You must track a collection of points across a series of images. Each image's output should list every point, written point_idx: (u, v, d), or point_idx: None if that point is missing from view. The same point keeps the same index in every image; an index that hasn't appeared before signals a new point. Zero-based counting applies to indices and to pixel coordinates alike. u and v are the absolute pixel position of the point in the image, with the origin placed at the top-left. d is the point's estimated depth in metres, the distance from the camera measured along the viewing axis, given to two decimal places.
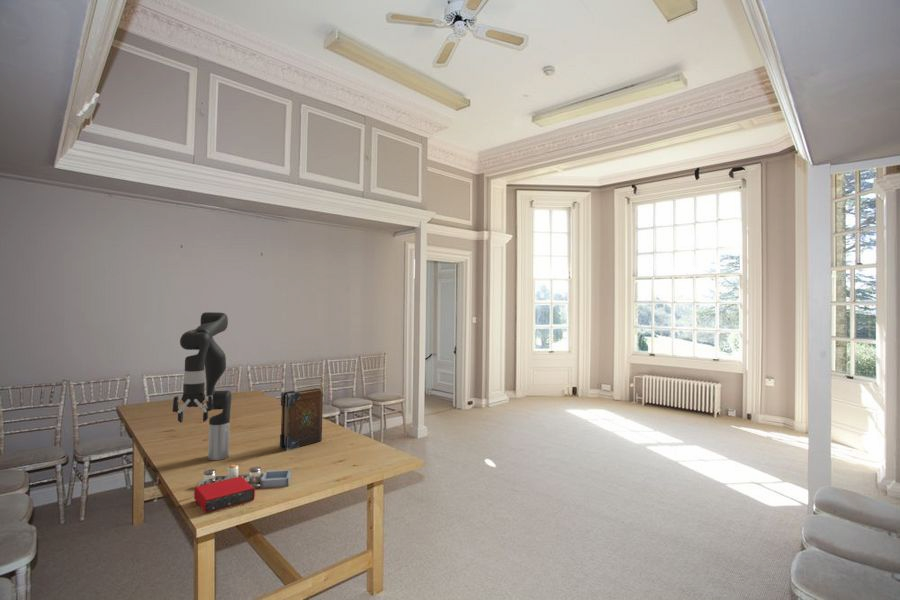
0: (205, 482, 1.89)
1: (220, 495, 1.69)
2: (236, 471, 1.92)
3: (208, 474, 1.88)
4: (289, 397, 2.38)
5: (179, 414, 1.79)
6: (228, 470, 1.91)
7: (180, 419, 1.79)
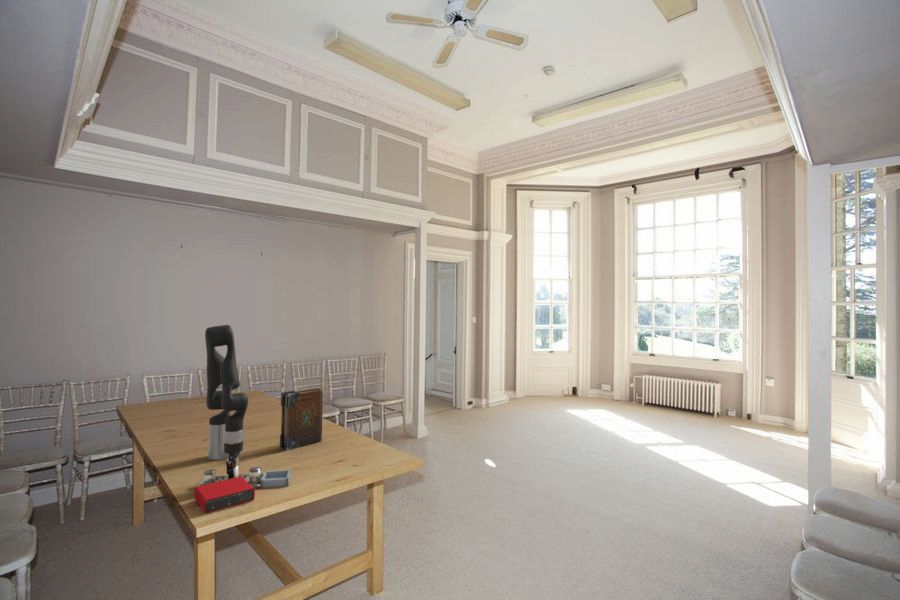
0: (205, 482, 1.89)
1: (220, 495, 1.69)
2: (236, 471, 1.92)
3: (208, 474, 1.88)
4: (289, 397, 2.38)
5: (233, 474, 1.90)
6: None
7: None
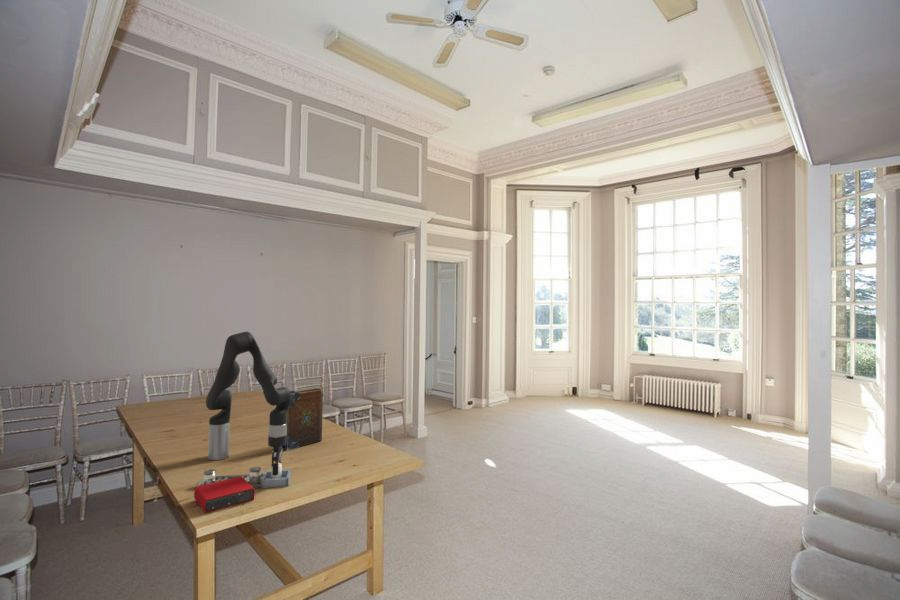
0: (205, 482, 1.89)
1: (220, 495, 1.69)
2: (280, 469, 1.94)
3: (208, 474, 1.88)
4: None
5: (277, 467, 1.91)
6: (272, 468, 1.93)
7: None
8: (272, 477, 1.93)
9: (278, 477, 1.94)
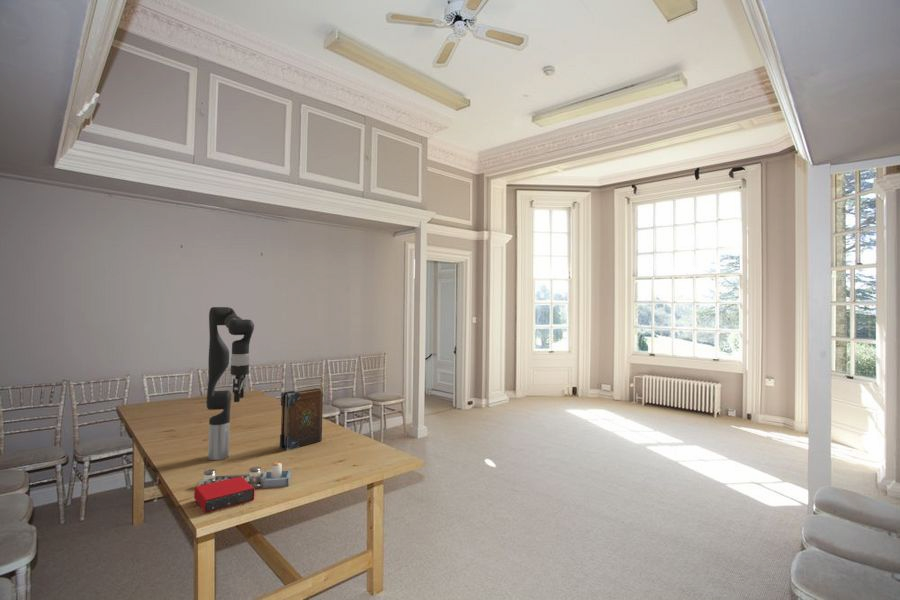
0: (205, 482, 1.89)
1: (220, 495, 1.69)
2: (280, 469, 1.94)
3: (208, 474, 1.88)
4: (289, 397, 2.38)
5: (238, 394, 1.97)
6: (272, 468, 1.93)
7: None
8: (272, 477, 1.93)
9: (278, 477, 1.94)
